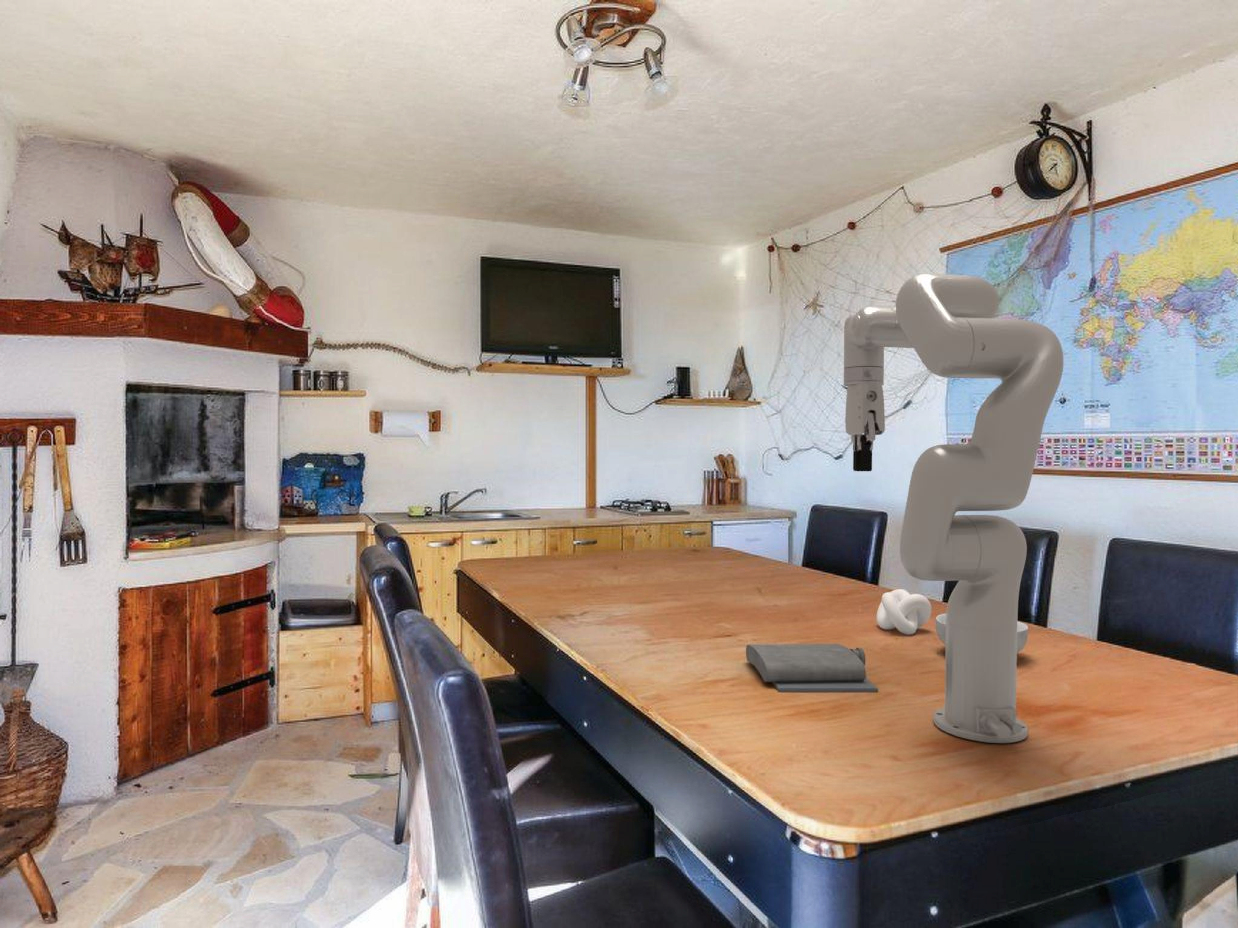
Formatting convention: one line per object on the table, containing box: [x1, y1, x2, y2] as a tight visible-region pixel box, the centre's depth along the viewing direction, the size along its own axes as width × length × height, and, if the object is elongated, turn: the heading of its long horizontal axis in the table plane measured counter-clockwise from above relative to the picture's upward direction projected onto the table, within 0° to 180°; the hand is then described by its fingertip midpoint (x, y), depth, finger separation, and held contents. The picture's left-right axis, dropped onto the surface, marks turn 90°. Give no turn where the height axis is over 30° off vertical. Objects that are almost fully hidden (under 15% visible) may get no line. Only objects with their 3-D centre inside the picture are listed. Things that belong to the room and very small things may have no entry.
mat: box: [771, 677, 879, 693], centre depth 139 cm, size 20×17×1 cm
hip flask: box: [745, 643, 867, 683], centre depth 140 cm, size 16×4×20 cm
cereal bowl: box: [935, 613, 1029, 654], centre depth 153 cm, size 17×17×7 cm
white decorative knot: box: [875, 588, 932, 636], centre depth 174 cm, size 11×12×9 cm
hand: (862, 470), depth 150 cm, fingers closed
